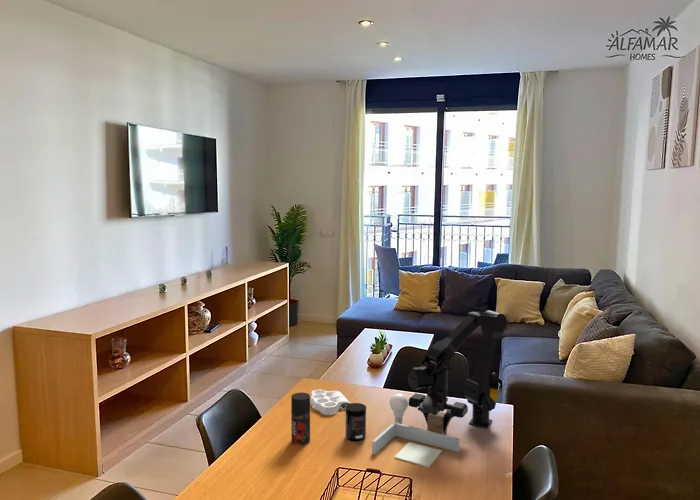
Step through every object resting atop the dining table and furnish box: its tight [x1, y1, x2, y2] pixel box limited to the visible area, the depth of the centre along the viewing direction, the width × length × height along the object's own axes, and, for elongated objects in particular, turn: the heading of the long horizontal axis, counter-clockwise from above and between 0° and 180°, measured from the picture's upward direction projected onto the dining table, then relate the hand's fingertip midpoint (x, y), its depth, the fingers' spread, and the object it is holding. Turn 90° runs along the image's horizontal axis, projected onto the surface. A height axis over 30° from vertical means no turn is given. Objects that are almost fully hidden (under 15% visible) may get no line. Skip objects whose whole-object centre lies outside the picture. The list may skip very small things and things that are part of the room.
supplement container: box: [344, 402, 367, 443], centre depth 169 cm, size 7×7×10 cm
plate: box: [394, 441, 443, 469], centre depth 158 cm, size 11×11×1 cm
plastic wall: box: [371, 422, 461, 455], centre depth 160 cm, size 16×22×4 cm
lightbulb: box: [389, 392, 409, 424], centre depth 179 cm, size 6×6×11 cm
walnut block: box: [426, 411, 448, 435], centre depth 172 cm, size 5×5×7 cm
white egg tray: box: [310, 389, 352, 416], centre depth 196 cm, size 3×18×15 cm
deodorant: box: [290, 392, 311, 446], centre depth 166 cm, size 6×6×15 cm
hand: (437, 429), depth 172 cm, fingers closed on walnut block, 5 cm apart
